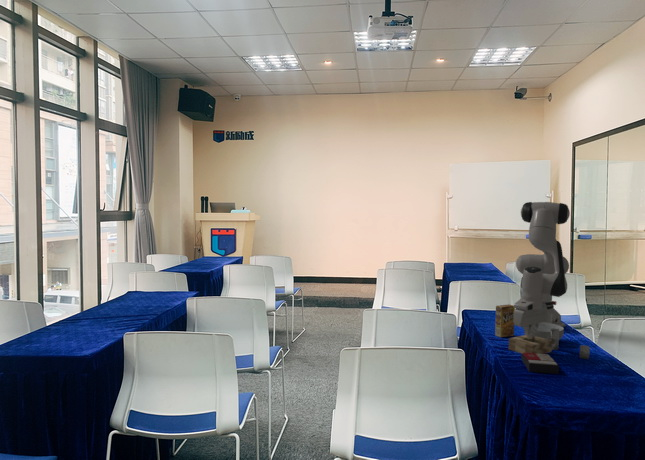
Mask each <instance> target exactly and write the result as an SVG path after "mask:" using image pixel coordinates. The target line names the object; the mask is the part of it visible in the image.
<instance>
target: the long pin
mask: <svg viewBox="0 0 645 460" xmlns="http://www.w3.org/2000/svg"><path fill="white" fill-rule="evenodd" d="M535 325H536V324H535V320H534V324H533V325H529V328H528V329H529V331H530V334H529V335H526V340H527V341H530V342H534V341H535Z"/></svg>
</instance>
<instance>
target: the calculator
mask: <svg viewBox="0 0 645 460" xmlns="http://www.w3.org/2000/svg"><path fill="white" fill-rule="evenodd" d="M520 354H521V353H520ZM520 358H521V361H522V363H523V365H524V366H525V367H526V369H527V371H528V372H530V373H540V374H541V373H542V374H551V375H559V373H560V366H559V364H558V363H557V362H556V361H555V360H554V358H552V357H551V356H550V355H549V353H545V354H535V353H522V354H521V357H520Z"/></svg>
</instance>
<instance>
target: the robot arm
mask: <svg viewBox="0 0 645 460" xmlns="http://www.w3.org/2000/svg"><path fill="white" fill-rule="evenodd" d="M570 215H571V214H570V208H569V206H568V205H567V204H566V203H562V202H559V203H558V202H552V201H551V202H550V201H537V202H535V201H534V202H532V201H529V202H525V203H524V204H523V205H522V207H521V209H520V216H521V219H522V221H523V222H525V223H529V228H528V240H529V242H530V244H531V245H533V247H534V248H535V249H537V250H539V251H541V252H542V253H543V254H534V253H533V254H531V253H527V254H521V255H519V256H518V257H517V259H516V261H515V267H516V269H517V270H518V272H519V273H520V274H521V275H522V276H521V280H520V282H521V283H520V287H521V289H522V292H521V296H520V298H519V300H517V301H516V302H515V303H514V304H513V306H514V308H515V310H514V327H515V326H516V327H519V328H523V330H524V335H529V334H530V331H529V329H528V328H529V325H533V324H534V320H535V324H536V325H535V333H537V328H538V326H539V323H551V324H556V325H559V326H561V327H563V328H564V327H566V326H567V324H566V323H565V322H562V316H561V314H560V313H559V311H558V310H556V309H555V308H554V307H555V306H556V305H557V304H558V303H557V301H555V300H553V297H556V298H557V297H558V298H560V297H562V296H564V295H565V294H566V293H567V291H568V281H567V279H566V274H567V273H568V272H569V269H570V263H569V260H568V259H567V258H566V257H565V256H564V255H563V248H562V247H563V246H562V244H561V242H560V241H559V240H557V238H556V237H557V225H563V224H565V223H567V222H568V220H569V218H570ZM565 324H566V325H565Z"/></svg>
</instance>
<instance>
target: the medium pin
mask: <svg viewBox="0 0 645 460" xmlns="http://www.w3.org/2000/svg"><path fill="white" fill-rule="evenodd" d="M550 340H551V341H552V351H558V350H559V346H560V345H559V344H560V343H559V342H560V339H559V329H554V328H552V329H551V330H550Z"/></svg>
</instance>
